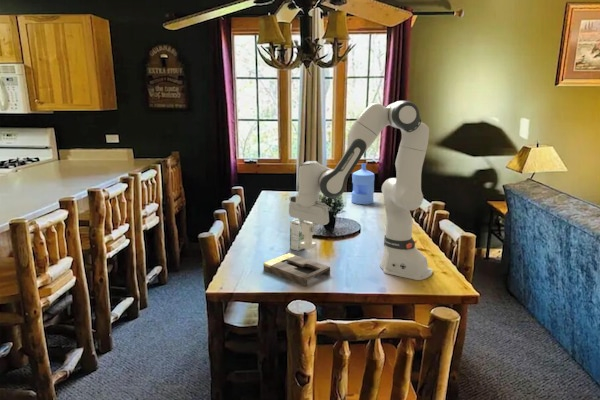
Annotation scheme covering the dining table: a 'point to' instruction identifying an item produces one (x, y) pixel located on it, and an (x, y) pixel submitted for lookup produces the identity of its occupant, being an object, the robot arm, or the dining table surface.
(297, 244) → the syrup box
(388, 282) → the dining table surface
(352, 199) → the water jug
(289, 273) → the keyhole plate
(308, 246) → the keyed peg
